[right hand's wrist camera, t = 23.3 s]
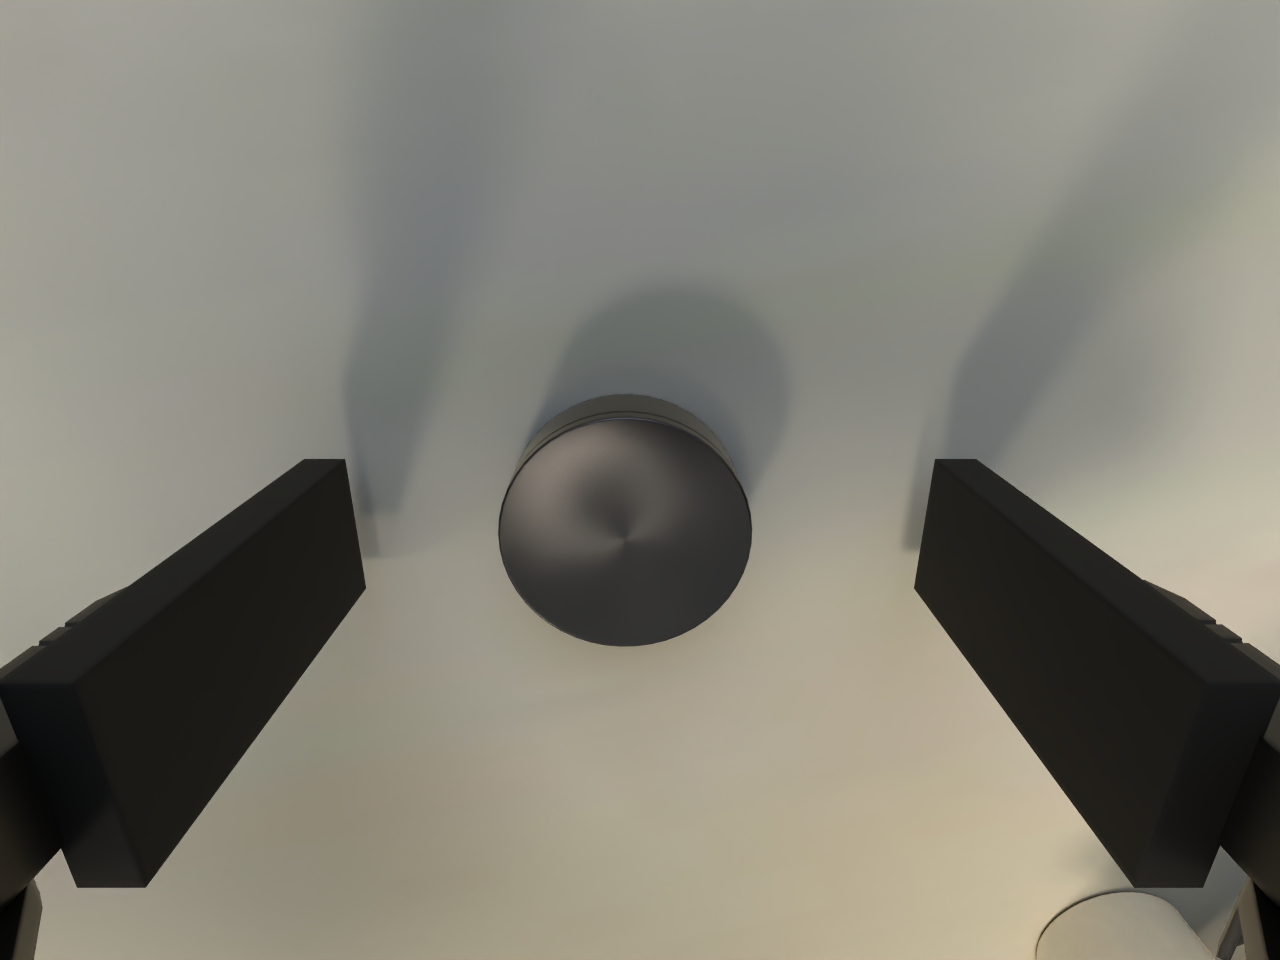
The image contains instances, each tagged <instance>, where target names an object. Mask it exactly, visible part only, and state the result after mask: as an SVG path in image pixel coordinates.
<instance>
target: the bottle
mask: <svg viewBox="0 0 1280 960" xmlns="http://www.w3.org/2000/svg"><path fill="white" fill-rule="evenodd" d="M1036 956H1037V960H1216V959H1215V957H1214V956H1213V955H1212V954H1211V952H1210V951H1209V950H1208V948H1207V947H1206V946H1205V945H1204V943H1203V942H1202V941H1201V940H1200V938H1199V937H1198V936H1197V935H1196V933H1195V932H1194V931H1193V930H1192V928H1191V927H1190V926H1189V924H1188V923H1187V922H1186V921H1185V919H1184V918H1183V917H1182V916H1181V914H1180V913H1179V912H1178V911H1177V909H1175V908H1174V907H1173V906H1172V905H1171V904H1169V903H1168V902H1166V901H1165V900H1163V899H1161V898H1159V897H1156V896H1153V895H1150V894H1145V893H1139V892H1118V893H1110V894H1106V895H1101V896H1098V897H1094V898H1091V899H1088V900H1086V901H1083V902H1081V903H1079V904H1077V905H1075V906H1073V907H1071V908H1070V909H1068V910H1067V911H1065V912H1064V913H1062V914H1061V915H1060V916H1058V917H1057V918H1056V919H1055V920H1054V921H1053V922H1052V923H1051V924H1050V925H1049V926H1048V927H1047V929H1046V930H1045V931H1044V933H1043V935H1042V936H1041V938H1040V941H1039V943H1038V947H1037V954H1036Z"/></svg>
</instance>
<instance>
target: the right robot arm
mask: <svg viewBox="0 0 1280 960" xmlns="http://www.w3.org/2000/svg"><path fill="white" fill-rule="evenodd" d="M365 589H366V585H365V579H364V573H363V566H362V560H361V554H360V548H359V542H358V536H357V529H356V523H355V517H354V511H353V505H352V499H351V492H350V486H349V480H348V474H347V468H346V462H345V459H304V460H302V461H301V462H300V463H298V464H297V465H295V466H294V467H293V468H291V469H290V470H289V471H287V472H286V473H284V474H283V475H282V476H280V477H279V478H277V479H276V480H275V481H273V482H272V483H271V484H269V485H268V486H266V487H265V488H264V489H262V490H261V491H260V492H258V493H257V494H255V495H254V496H253V497H251V498H250V499H248V500H247V501H246V502H244V503H243V504H242V505H240V506H239V507H237V508H236V509H235V510H233V511H232V512H231V513H229V514H228V515H226V516H225V517H224V518H222V519H221V520H219V521H218V522H217V523H215V524H214V525H213V526H211V527H210V528H208V529H207V530H206V531H204V532H203V533H202V534H200V535H199V536H197V537H196V538H195V539H193V540H192V541H191V542H189V543H188V544H186V545H185V546H184V547H182V548H181V549H179V550H178V551H177V552H175V553H174V554H173V555H171V556H170V557H168V558H167V559H166V560H164V561H163V562H162V563H160V564H159V565H157V566H156V567H155V568H153V569H152V570H150V571H149V572H148V573H146V574H145V575H144V576H142V577H141V578H139V579H138V580H137V581H135V582H134V583H133V584H131V585H130V586H128V587H125V588H123V589H121V590H119V591H117V592H115V593H112V594H110V595H108V596H106V597H104V598H101V599H99V600H97V601H95V602H94V603H92V604H91V605H90V606H88V607H87V608H85V609H84V610H83V611H81V612H80V613H78V614H77V615H76V616H74V617H73V618H71V619H70V620H68V621H67V622H66V623H65V627H59V628H57V629H56V630H54V631H53V632H52V633H50V634H49V635H47V636H46V637H44V638H43V639H42V640H40V641H39V646H32V647H30V648H29V649H28V650H26V651H25V652H23V653H22V654H20V655H19V656H18V657H16V658H15V659H13V660H12V661H11V662H9V663H8V664H6V665H5V666H3V667H2V668H1V669H0V960H34V955H35V949H36V943H37V937H38V931H39V925H40V919H41V913H42V903H41V897H40V892H39V890H38V888H37V886H36V883H35V881H34V879H33V878H34V877H35V876H36V875H37V874H38V873H39V871H40V870H41V869H42V868H43V867H44V866H45V865H46V864H47V863H48V862H49V861H50V859H51V858H52V857H53V856H54V855H55V854H56V853H57V852H58V851H59V850H60V849H62V851H63V854H64V856H65V859H66V861H67V864H68V866H69V869H70V871H71V874H72V876H73V879H74V881H75V883H76V886H77V888H146V887H147V885H148V884H149V882H150V881H151V880H152V878H153V877H154V876H155V874H156V873H157V872H158V870H159V869H160V867H161V866H162V865H163V863H164V862H165V861H166V859H167V858H168V857H169V855H170V854H171V853H172V851H173V850H174V848H175V847H176V846H177V844H178V843H179V842H180V840H181V839H182V838H183V836H184V835H185V834H186V832H187V831H188V829H189V828H190V827H191V825H192V824H193V823H194V821H195V820H196V819H197V817H198V816H199V814H200V813H201V812H202V810H203V809H204V808H205V806H206V805H207V804H208V802H209V801H210V800H211V798H212V797H213V795H214V794H215V793H216V791H217V790H218V789H219V787H220V786H221V785H222V783H223V782H224V781H225V779H226V778H227V776H228V775H229V774H230V772H231V771H232V770H233V768H234V767H235V766H236V764H237V763H238V761H239V760H240V759H241V757H242V756H243V755H244V753H245V752H246V751H247V749H248V748H249V747H250V745H251V744H252V742H253V741H254V740H255V738H256V737H257V736H258V734H259V733H260V732H261V730H262V729H263V728H264V726H265V725H266V723H267V722H268V721H269V719H270V718H271V717H272V715H273V714H274V713H275V711H276V710H277V708H278V707H279V706H280V704H281V703H282V702H283V700H284V699H285V698H286V696H287V695H288V694H289V692H290V691H291V689H292V688H293V687H294V685H295V684H296V683H297V681H298V680H299V679H300V677H301V676H302V675H303V673H304V672H305V670H306V669H307V668H308V666H309V665H310V664H311V662H312V661H313V660H314V658H315V657H316V655H317V654H318V653H319V651H320V650H321V649H322V647H323V646H324V645H325V643H326V642H327V641H328V639H329V638H330V636H331V635H332V634H333V632H334V631H335V630H336V628H337V627H338V626H339V624H340V623H341V622H342V620H343V619H344V617H345V616H346V615H347V613H348V612H349V611H350V609H351V608H352V607H353V605H354V604H355V602H356V601H357V600H358V598H359V597H360V596H361V594H362V593H363V592H364V590H365ZM914 589H915V590H916V592H917V593H918V594H919V596H920V597H921V598H922V600H923V601H924V602H925V604H926V605H927V606H928V608H929V609H930V611H931V612H932V613H933V615H934V616H935V617H936V619H937V620H938V621H939V623H940V624H941V626H942V627H943V628H944V630H945V631H946V632H947V634H948V635H949V636H950V638H951V639H952V640H953V642H954V643H955V645H956V646H957V647H958V649H959V650H960V651H961V653H962V654H963V655H964V657H965V658H966V659H967V661H968V662H969V664H970V665H971V666H972V668H973V669H974V670H975V672H976V673H977V674H978V676H979V677H980V679H981V680H982V681H983V683H984V684H985V685H986V687H987V688H988V689H989V691H990V692H991V693H992V695H993V696H994V698H995V699H996V700H997V702H998V703H999V704H1000V706H1001V707H1002V708H1003V710H1004V711H1005V712H1006V714H1007V715H1008V717H1009V718H1010V719H1011V721H1012V722H1013V723H1014V725H1015V726H1016V727H1017V729H1018V730H1019V732H1020V733H1021V734H1022V736H1023V737H1024V738H1025V740H1026V741H1027V742H1028V744H1029V745H1030V746H1031V748H1032V749H1033V751H1034V752H1035V753H1036V755H1037V756H1038V757H1039V759H1040V760H1041V761H1042V763H1043V764H1044V765H1045V767H1046V768H1047V770H1048V771H1049V772H1050V774H1051V775H1052V776H1053V778H1054V779H1055V780H1056V782H1057V783H1058V784H1059V786H1060V787H1061V789H1062V790H1063V791H1064V793H1065V794H1066V795H1067V797H1068V798H1069V799H1070V801H1071V802H1072V804H1073V805H1074V806H1075V808H1076V809H1077V810H1078V812H1079V813H1080V814H1081V816H1082V817H1083V818H1084V820H1085V821H1086V823H1087V824H1088V825H1089V827H1090V828H1091V829H1092V831H1093V832H1094V833H1095V835H1096V836H1097V837H1098V839H1099V840H1100V842H1101V843H1102V844H1103V846H1104V847H1105V848H1106V850H1107V851H1108V852H1109V854H1110V855H1111V857H1112V858H1113V859H1114V861H1115V862H1116V863H1117V865H1118V866H1119V867H1120V869H1121V870H1122V871H1123V873H1124V874H1125V876H1126V877H1127V878H1128V880H1129V881H1130V882H1131V884H1132V885H1133V886H1134V888H1203V886H1204V884H1205V881H1206V879H1207V876H1208V874H1209V871H1210V869H1211V866H1212V864H1213V861H1214V859H1215V857H1216V854H1217V852H1218V849H1219V847H1220V845H1221V847H1222V848H1223V849H1224V850H1225V851H1226V852H1227V853H1228V854H1229V855H1230V856H1231V857H1232V859H1233V860H1234V861H1235V862H1236V863H1237V864H1238V865H1239V866H1240V867H1241V868H1242V869H1243V870H1244V872H1245V873H1246V874H1247V875H1248V876H1247V879H1246V881H1245V883H1244V886H1243V888H1242V890H1241V892H1240V895H1239V897H1238V899H1237V902H1236V904H1235V906H1234V909H1233V911H1232V913H1231V915H1230V918H1229V920H1228V922H1227V925H1226V927H1225V929H1224V932H1223V934H1222V936H1221V939H1220V941H1219V945H1218V950H1217V956H1216V957H1218V958H1220V959H1223V960H1231V957H1232V955H1233V953H1234V951H1235V948H1236V946H1239V945H1242V944H1244V946H1245V952H1246V958H1247V960H1280V665H1279V664H1278V663H1276V662H1275V661H1273V660H1272V659H1270V658H1269V657H1268V656H1266V655H1265V654H1263V653H1262V652H1261V651H1259V650H1258V649H1256V648H1255V647H1253V646H1252V645H1251V644H1249V643H1242V638H1241V637H1239V636H1238V635H1236V634H1235V633H1233V632H1232V631H1231V630H1229V629H1228V628H1226V627H1225V626H1223V625H1217V624H1216V620H1215V619H1214V618H1212V617H1211V616H1209V615H1208V614H1206V613H1205V612H1204V611H1202V610H1201V609H1199V608H1198V607H1196V606H1195V605H1194V604H1192V603H1191V602H1189V601H1188V600H1186V599H1185V598H1183V597H1181V596H1178V595H1176V594H1174V593H1172V592H1170V591H1167V590H1165V589H1163V588H1161V587H1159V586H1157V585H1154V584H1152V583H1150V582H1148V581H1146V580H1142V579H1141V578H1139V577H1138V576H1136V575H1135V574H1134V573H1132V572H1131V571H1130V570H1128V569H1127V568H1125V567H1124V566H1123V565H1121V564H1120V563H1119V562H1117V561H1116V560H1114V559H1113V558H1112V557H1110V556H1109V555H1108V554H1106V553H1105V552H1103V551H1102V550H1101V549H1099V548H1098V547H1096V546H1095V545H1094V544H1092V543H1091V542H1090V541H1088V540H1087V539H1085V538H1084V537H1083V536H1081V535H1080V534H1079V533H1077V532H1076V531H1074V530H1073V529H1072V528H1070V527H1069V526H1067V525H1066V524H1065V523H1063V522H1062V521H1061V520H1059V519H1058V518H1056V517H1055V516H1054V515H1052V514H1051V513H1050V512H1048V511H1047V510H1045V509H1044V508H1043V507H1041V506H1040V505H1038V504H1037V503H1036V502H1034V501H1033V500H1032V499H1030V498H1029V497H1027V496H1026V495H1025V494H1023V493H1022V492H1021V491H1019V490H1018V489H1016V488H1015V487H1014V486H1012V485H1011V484H1010V483H1008V482H1007V481H1005V480H1004V479H1003V478H1001V477H1000V476H998V475H997V474H996V473H994V472H993V471H992V470H990V469H989V468H987V467H986V466H985V465H983V464H982V463H981V462H979V461H978V460H976V459H935V462H934V468H933V474H932V481H931V487H930V493H929V499H928V505H927V511H926V518H925V524H924V530H923V536H922V542H921V548H920V555H919V561H918V567H917V573H916V579H915V585H914Z"/></svg>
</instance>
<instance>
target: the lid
mask: <svg viewBox="0 0 1280 960" xmlns="http://www.w3.org/2000/svg"><path fill="white" fill-rule="evenodd" d="M498 536H499V546H500V552H501V556H502V560H503V564H504V566H505V569H506V571H507V574H508V576H509V578H510V580H511V582H512V584H513V586H514V587H515V589H516V591H517V592H518V593H519V595H520V596H521V597H522V599H523V600H524V601H525V603H526V604H527V605H528V606H529V607H530V608H531V609H532V610H533V611H534V612H535V613H536V614H537V615H539V616H540V617H541V618H542V619H544V620H545V621H546V622H548V623H549V624H551V625H552V626H554V627H556V628H557V629H559V630H561V631H563V632H565V633H567V634H569V635H571V636H573V637H576V638H579V639H582V640H585V641H588V642H592V643H597V644H602V645H609V646H641V645H648V644H654V643H658V642H662V641H666V640H668V639H671V638H674V637H677V636H679V635H681V634H683V633H685V632H687V631H689V630H691V629H693V628H695V627H696V626H698V625H699V624H701V623H702V622H704V621H705V620H707V619H708V618H709V617H710V616H711V615H713V614H714V613H715V612H716V611H717V610H718V609H719V608H720V607H721V606H722V605H723V604H724V603H725V602H726V600H727V599H728V598H729V597H730V595H731V594H732V592H733V591H734V589H735V588H736V586H737V585H738V583H739V581H740V579H741V577H742V575H743V573H744V570H745V567H746V564H747V561H748V559H749V553H750V548H751V541H752V522H751V513H750V509H749V505H748V501H747V498H746V495H745V493H744V490H743V488H742V485H741V483H740V481H739V478H738V476H737V474H736V471H735V469H734V466H733V464H732V462H731V459H730V457H729V455H728V453H727V452H726V450H725V448H724V446H723V445H722V443H721V442H720V441H719V439H718V438H717V437H716V435H715V434H714V433H713V432H712V431H711V430H710V429H709V428H708V427H707V426H706V425H705V424H704V423H703V422H702V421H700V420H699V419H698V418H696V417H695V416H694V415H692V414H691V413H689V412H688V411H686V410H684V409H682V408H680V407H678V406H677V405H674V404H671V403H669V402H666V401H664V400H661V399H657V398H652V397H648V396H641V395H632V394H625V395H610V396H603V397H598V398H594V399H591V400H587V401H584V402H582V403H579V404H577V405H575V406H572V407H570V408H568V409H567V410H565V411H563V412H562V413H560V414H558V415H557V416H556V417H554V418H553V419H552V420H551V421H549V422H548V423H547V424H546V425H545V426H544V427H543V428H542V429H541V430H540V431H539V432H538V433H537V434H536V435H535V436H534V438H533V439H532V440H531V442H530V443H529V445H528V446H527V448H526V449H525V451H524V453H523V455H522V457H521V459H520V461H519V463H518V466H517V468H516V470H515V472H514V475H513V477H512V479H511V482H510V484H509V486H508V488H507V491H506V494H505V497H504V500H503V502H502V506H501V511H500V516H499V530H498Z"/></svg>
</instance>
